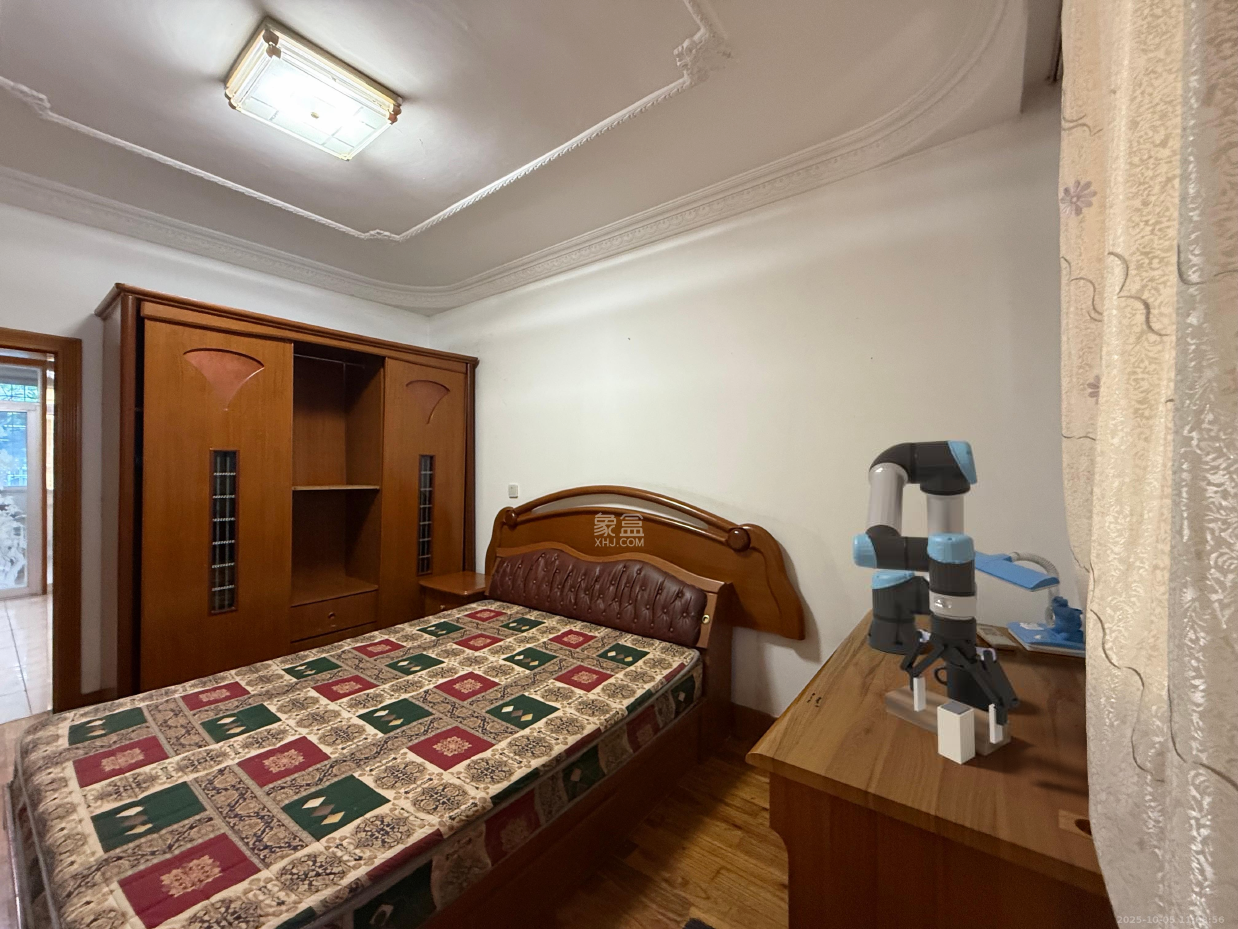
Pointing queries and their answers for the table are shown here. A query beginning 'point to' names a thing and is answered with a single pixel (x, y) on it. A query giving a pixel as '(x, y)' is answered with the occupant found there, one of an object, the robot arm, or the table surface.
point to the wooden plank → (903, 707)
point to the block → (956, 731)
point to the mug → (964, 685)
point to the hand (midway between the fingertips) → (955, 724)
